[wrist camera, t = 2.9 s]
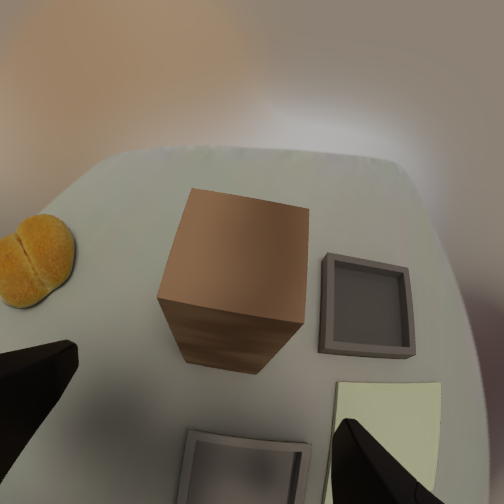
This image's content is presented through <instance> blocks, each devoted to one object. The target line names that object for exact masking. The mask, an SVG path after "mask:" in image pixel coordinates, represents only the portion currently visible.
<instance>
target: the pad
mask: <svg viewBox="0 0 504 504" xmlns="http://www.w3.org/2000/svg"><path fill="white" fill-rule="evenodd" d="M440 412H441V382H436V383H354V382H337V383H336V393H335V405H334V416H333V427H332V436H331V445H330V453H329V461H328V468H327V475H326V481H325V488H324V494H323V500H322V504H333V499H332V486H331V459H332V438H333V435H334V433H335V431H336V429H337V428H338V426H339V424H340V423H341V421H342V420H343V419H344V418H351V419H356V420H357V421H358V422H359V423H360V424H361V425H362V426H363V427H364V428H365V429H366V430H367V431H368V432H369V433H370V434H371V435H372V436H373V437H374V438H375V439H376V440H377V441H378V442H379V443H380V444H381V445H382V446H383V447H384V448H385V449H386V450H387V451H388V452H389V453H390V454H391V455H392V456H393V457H394V458H395V459H396V460H397V461H398V462H399V463H400V464H401V465H402V466H403V467H404V468H405V469H406V470H407V471H408V472H409V473H410V474H411V475H413V476H414V477H415V478H416V479H417V481H419V482H420V483H421V484H422V485H423V486H424V487H425V488H426V489H427V490H429V491H432V490H433V486H434V480H435V473H436V465H437V456H438V446H439V433H440Z"/></svg>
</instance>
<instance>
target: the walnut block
mask: <svg viewBox="0 0 504 504" xmlns="http://www.w3.org/2000/svg"><path fill="white" fill-rule="evenodd" d="M308 236H309V209H306V208H301V207H296V206H291V205H286V204H281V203H276V202H270V201H265V200H260V199H254V198H249V197H243V196H237V195H231V194H225V193H219V192H213V191H207V190H201V189H194V188H192V189H191V192H190V195H189V197H188V200H187V203H186V206H185V209H184V212H183V215H182V218H181V221H180V224H179V227H178V230H177V233H176V236H175V239H174V242H173V245H172V248H171V251H170V255H169V258H168V261H167V264H166V268H165V271H164V274H163V278H162V281H161V284H160V288H159V291H158V295H157V299H158V301H159V304H160V306H161V308H162V311H163V313H164V315H165V318H166V320H167V322H168V325H169V327H170V329H171V331H172V333H173V336H174V338H175V340H176V342H177V344H178V347H179V349H180V351H181V353H182V355H183V357H184V359H185V361H186V362H187V363H192V364H197V365H202V366H207V367H212V368H218V369H224V370H229V371H236V372H242V373H248V374H255V375H256V374H257V373H258V372H259V371H260V370H261V369H262V368H263V367H264V366H265V365H266V364H267V363H268V362H269V361H270V360H271V359H272V358H273V357H274V356H275V355H276V354H277V352H278V351H279V350H280V349H281V348H282V347H283V346H284V345H285V344H286V343H287V342H288V341H289V340H290V338H291V337H292V336H293V335H294V334H295V333H296V332H297V331H298V330H299V328H300V327H301V326H302V325H303V324H304V318H305V302H306V284H307V263H308Z"/></svg>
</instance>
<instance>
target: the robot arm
mask: <svg viewBox="0 0 504 504" xmlns="http://www.w3.org/2000/svg"><path fill="white" fill-rule="evenodd" d="M78 365H79V359H78V346H77V344H76V343H74V342H72V341H70V340H62V341H57V342H53V343H48V344H44V345H39V346H35V347H30V348H25V349H21V350H16V351H11V352H6V353H1V354H0V484H1V482H2V481H3V479H4V477H5V476H6V474H7V473H8V471H9V470H10V468H11V467H12V465H13V464H14V462H15V461H16V459H17V458H18V456H19V455H20V453H21V452H22V450H23V449H24V448H25V446H26V445H27V443H28V442H29V440H30V439H31V438H32V436H33V435H34V433H35V432H36V431H37V429H38V428H39V426H40V425H41V424H42V422H43V421H44V419H45V418H46V417H47V415H48V414H49V413H50V411H51V410H52V409H53V407H54V406H55V405H56V403H57V402H58V400H59V399H60V397H61V396H62V394H63V392H64V391H65V389H66V387H67V385H68V384H69V382H70V380H71V379H72V377H73V375H74V374H75V372H76V370H77V368H78ZM331 486H332V499H333V504H444V503H443V502H442V501H441V500H439V499H438V498H437V497H435V496H434V495H433V494H432V493H431V492H430V491H429V490H427V489H426V488H425V487H424V486H423V485H422V484H421V483H420V482H419V481H417V479H416V478H415V477H414V476H413V475H411V474H410V473H409V472H408V471H407V470H406V469H405V468H404V467H403V466H402V465H401V464H400V463H399V462H398V461H397V460H396V459H395V458H394V457H393V456H392V455H391V454H390V453H389V452H388V451H387V450H386V449H385V448H384V447H383V446H382V445H381V444H380V443H379V442H378V441H377V440H376V439H375V438H374V437H373V436H372V435H371V434H370V433H369V432H368V431H367V430H366V429H365V428H364V427H363V426H362V425H361V424H360V423H359V422H358V421H357V420H356V419H351V418H344V419H343V420H342V421H341V423H340V424H339V426H338V428H337V429H336V431H335V433H334V435H333V438H332V459H331Z"/></svg>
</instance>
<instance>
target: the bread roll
mask: <svg viewBox="0 0 504 504" xmlns="http://www.w3.org/2000/svg"><path fill="white" fill-rule="evenodd" d="M74 252H75V245H74V238H73V235H72V233H71V231H70V230H69V228H68V227H67V226H66V225H65V223H64V222H63V221H61V220H60V219H58V218H56V217H55V216H52V215H46V214H42V215H36V216H32V217H29V218H26V219H25V220H24V221H23V222H22V223H21V224H20V225H19V227H18V228H17V230H16V232H15V233H14V234H10V235H7V236H5V237H4V238H2V239H1V240H0V299H1V301H2V302H3V303H4V304H5V305H7V306H12V307H16V308H26V307H30V306H32V305H35V304H36V303H38V302H39V301H41V300H42V299H43V298H44V297H45V296H47V295H48V294H49V293H50V292H51V291H53V290H54V289H56V288H58V287H59V286H60V285H61V284H62V283H64V282H65V281H66V280H67V278H68V277H69V276H70V274H71V271H72V266H73V260H74Z"/></svg>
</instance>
